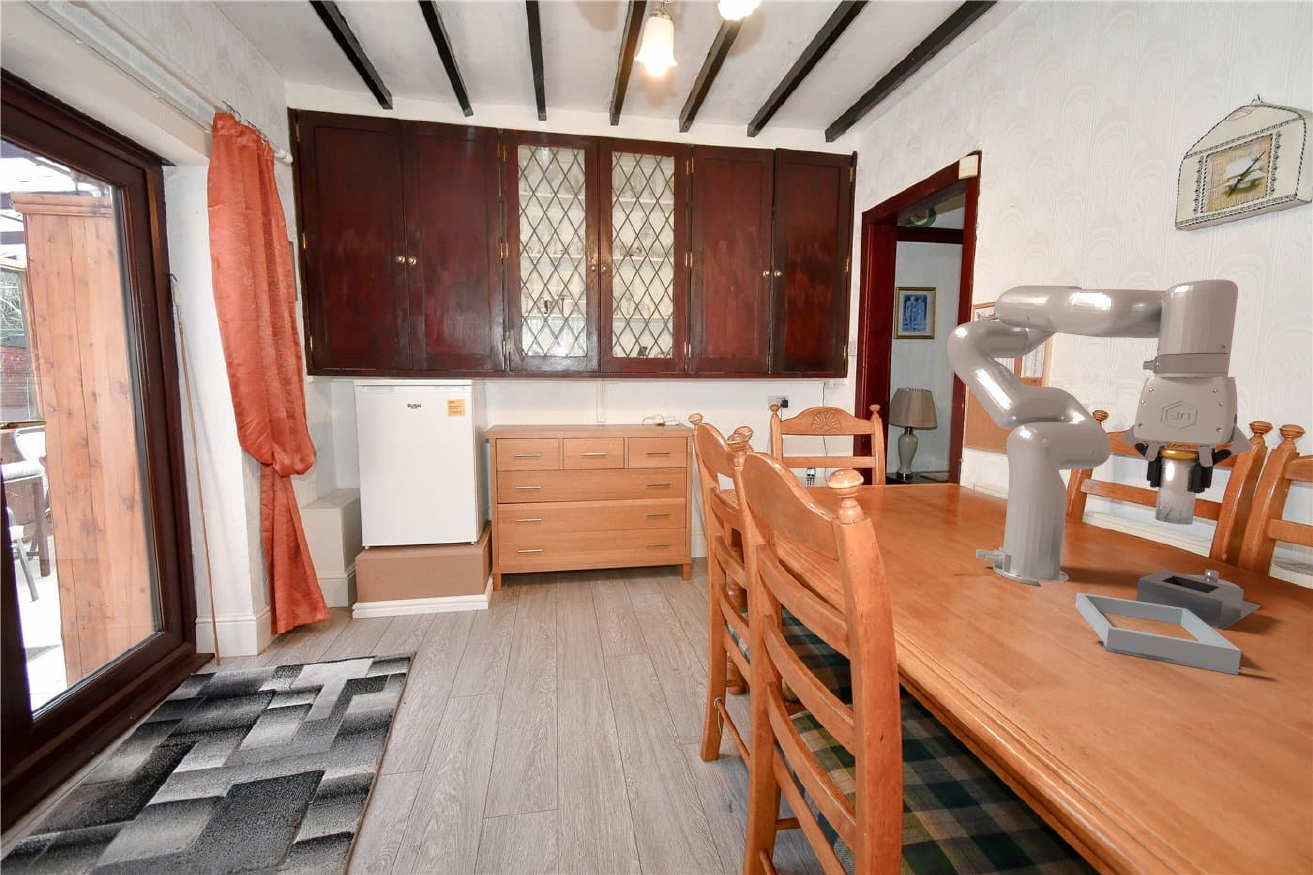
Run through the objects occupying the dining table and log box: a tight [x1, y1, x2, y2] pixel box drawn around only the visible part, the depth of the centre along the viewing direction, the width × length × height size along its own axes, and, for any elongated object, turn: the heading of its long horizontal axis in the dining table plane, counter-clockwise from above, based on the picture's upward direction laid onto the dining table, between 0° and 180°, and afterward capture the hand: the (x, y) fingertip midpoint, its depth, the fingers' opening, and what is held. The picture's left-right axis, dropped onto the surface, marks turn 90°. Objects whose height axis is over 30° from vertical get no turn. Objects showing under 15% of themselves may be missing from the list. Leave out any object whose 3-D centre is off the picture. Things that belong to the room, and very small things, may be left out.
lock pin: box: [1154, 447, 1200, 526], centre depth 76 cm, size 5×5×11 cm
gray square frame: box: [1074, 591, 1242, 676], centre depth 77 cm, size 14×14×4 cm
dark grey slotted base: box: [1135, 568, 1262, 631], centre depth 88 cm, size 19×11×6 cm, turn 118°
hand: (1177, 488), depth 76 cm, fingers closed on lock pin, 4 cm apart
